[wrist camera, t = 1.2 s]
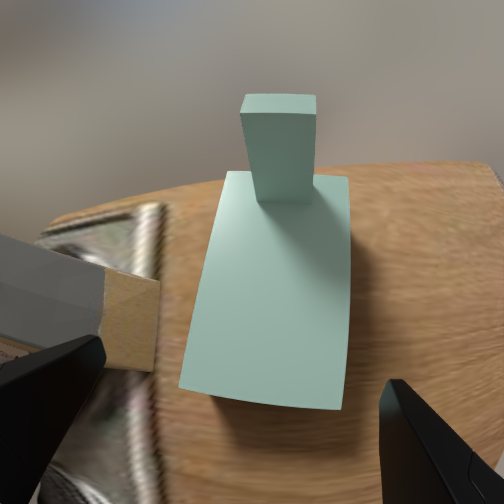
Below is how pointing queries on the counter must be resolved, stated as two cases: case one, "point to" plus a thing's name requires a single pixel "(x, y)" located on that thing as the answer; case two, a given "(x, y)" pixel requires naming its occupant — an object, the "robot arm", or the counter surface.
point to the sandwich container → (75, 304)
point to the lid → (275, 270)
